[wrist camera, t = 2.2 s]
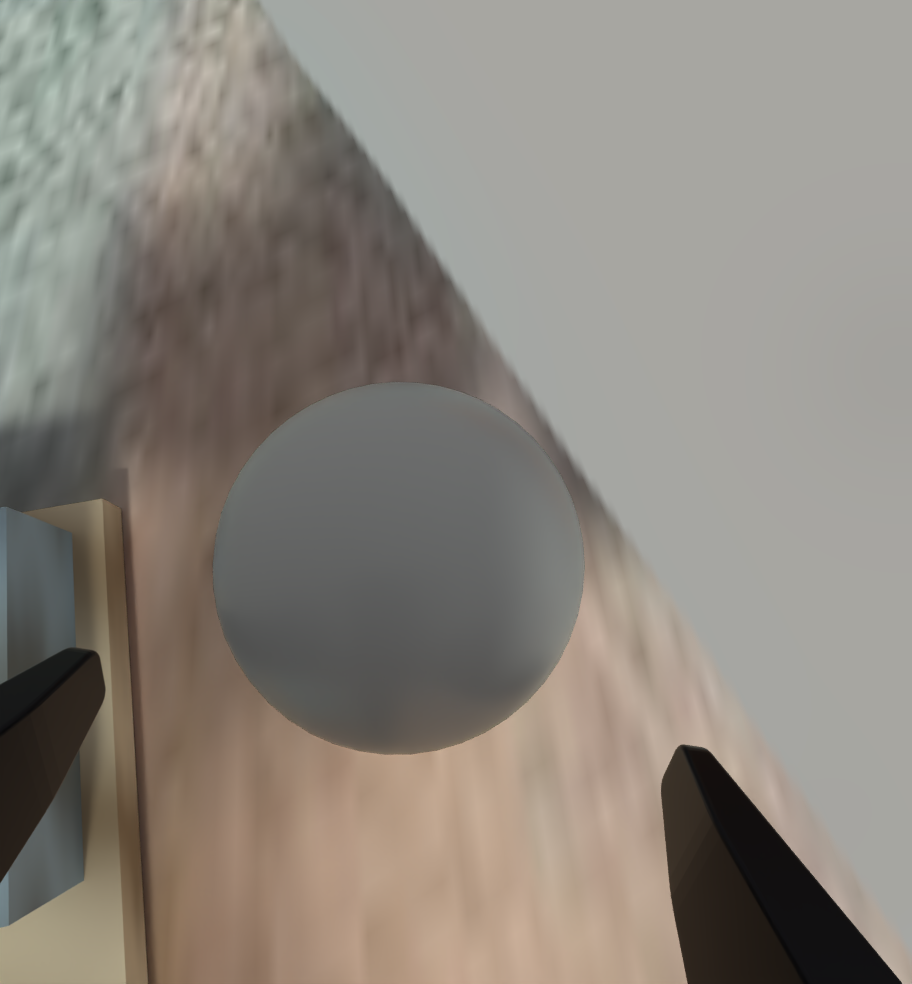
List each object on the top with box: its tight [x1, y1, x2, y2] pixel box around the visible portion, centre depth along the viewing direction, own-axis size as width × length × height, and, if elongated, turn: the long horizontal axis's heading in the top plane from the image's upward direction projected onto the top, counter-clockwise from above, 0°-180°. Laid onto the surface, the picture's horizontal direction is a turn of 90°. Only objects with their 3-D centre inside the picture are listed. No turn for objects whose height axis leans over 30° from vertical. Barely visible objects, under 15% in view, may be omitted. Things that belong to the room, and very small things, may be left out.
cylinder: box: [213, 382, 585, 754], centre depth 12 cm, size 4×4×14 cm
